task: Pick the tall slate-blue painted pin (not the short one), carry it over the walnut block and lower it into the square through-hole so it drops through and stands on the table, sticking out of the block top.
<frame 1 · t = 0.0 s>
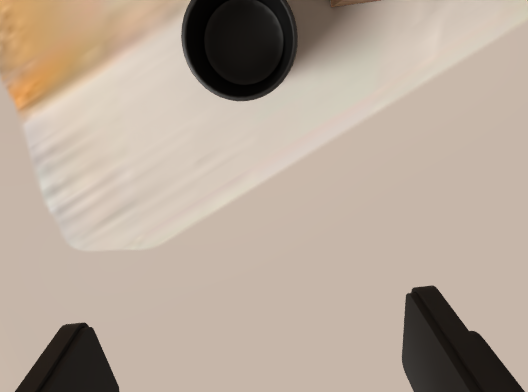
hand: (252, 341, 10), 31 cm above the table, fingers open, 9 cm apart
mug: (244, 30, 35), on the table
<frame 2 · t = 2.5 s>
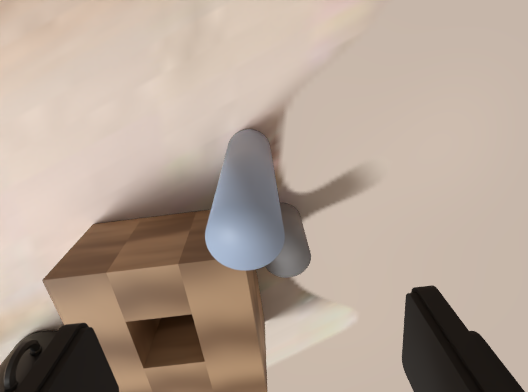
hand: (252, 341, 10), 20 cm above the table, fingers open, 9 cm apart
mug: (59, 350, 37), on the table
hole block: (185, 277, 33), on the table
tall pin: (249, 150, 28), on the table
short pin: (281, 220, 31), on the table
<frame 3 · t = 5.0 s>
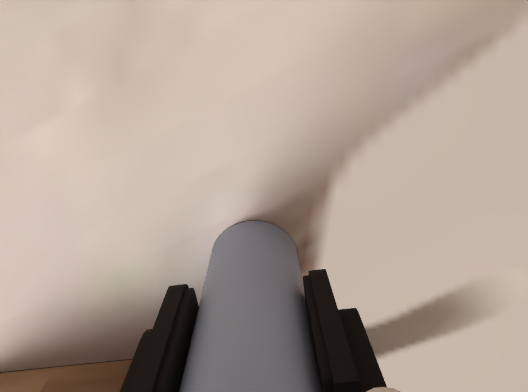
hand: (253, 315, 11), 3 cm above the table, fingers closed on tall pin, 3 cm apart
tall pin: (254, 258, 14), on the table, touching gripper
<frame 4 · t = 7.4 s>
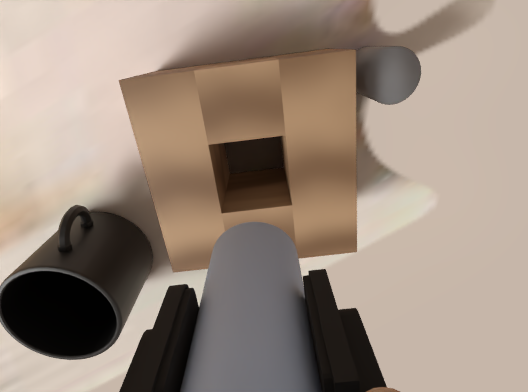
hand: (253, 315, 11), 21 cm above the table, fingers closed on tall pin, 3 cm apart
mug: (106, 239, 34), on the table
hole block: (253, 144, 30), on the table
tall pin: (254, 259, 14), point 17 cm above the table, touching gripper
short pin: (365, 70, 27), on the table
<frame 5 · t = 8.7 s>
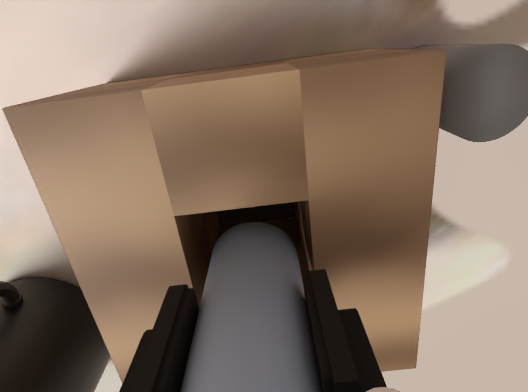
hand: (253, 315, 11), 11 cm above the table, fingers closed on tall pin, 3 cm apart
mug: (52, 310, 24), on the table
hole block: (252, 186, 21), on the table
tall pin: (254, 259, 14), point 7 cm above the table, touching gripper
short pin: (421, 81, 18), on the table
when the fingers open (9 cm above the table, at t = 9.7 s): tall pin drops 6 cm, resting in hole block.
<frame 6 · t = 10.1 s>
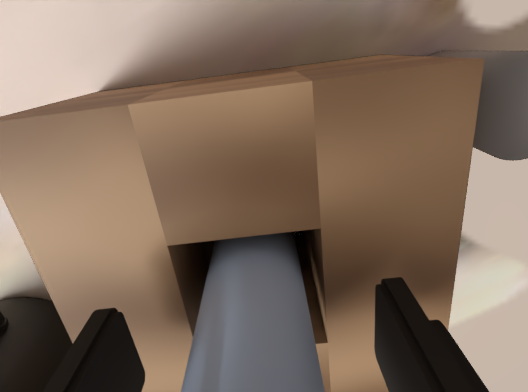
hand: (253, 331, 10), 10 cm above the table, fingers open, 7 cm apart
mug: (41, 331, 23), on the table
hole block: (255, 202, 19), on the table
tall pin: (255, 202, 19), resting in hole block
short pin: (439, 89, 17), on the table
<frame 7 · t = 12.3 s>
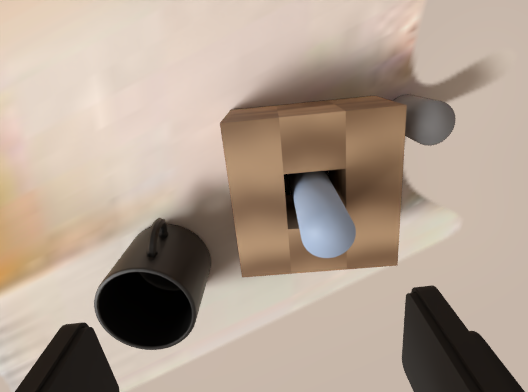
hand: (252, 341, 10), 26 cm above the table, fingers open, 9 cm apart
mug: (171, 248, 39), on the table
hole block: (305, 171, 35), on the table
tall pin: (305, 171, 35), resting in hole block
short pin: (404, 113, 33), on the table
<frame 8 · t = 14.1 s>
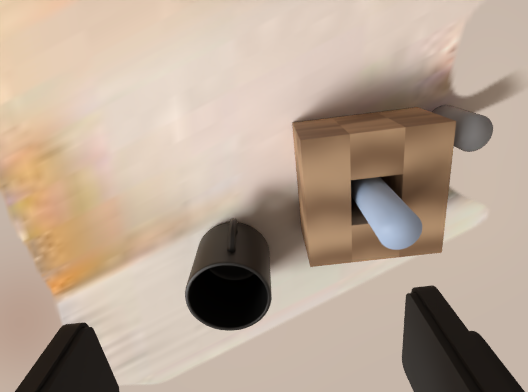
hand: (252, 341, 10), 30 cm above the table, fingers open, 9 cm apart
mug: (234, 243, 44), on the table
hole block: (355, 173, 40), on the table
tall pin: (355, 173, 40), resting in hole block
short pin: (442, 121, 38), on the table
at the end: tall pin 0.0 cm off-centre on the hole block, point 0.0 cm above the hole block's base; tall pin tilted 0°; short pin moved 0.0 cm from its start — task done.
